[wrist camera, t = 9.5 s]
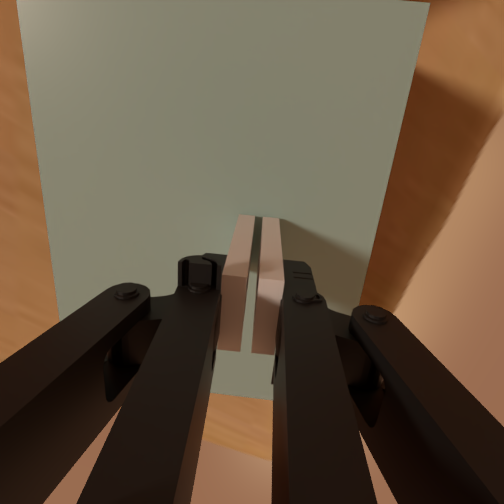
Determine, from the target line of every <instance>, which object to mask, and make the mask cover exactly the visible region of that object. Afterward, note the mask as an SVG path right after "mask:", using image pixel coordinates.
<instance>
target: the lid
mask: <svg viewBox="0 0 504 504" xmlns="http://www.w3.org/2000/svg"><path fill="white" fill-rule="evenodd" d="M16 1H17V9H18V16H19V23H20V31H21V38H22V46H23V53H24V60H25V68H26V75H27V83H28V90H29V97H30V105H31V112H32V120H33V127H34V134H35V142H36V149H37V157H38V164H39V171H40V179H41V186H42V194H43V201H44V208H45V216H46V223H47V231H48V238H49V245H50V253H51V260H52V268H53V275H54V282H55V290H56V297H57V304H58V312H59V319H60V321H62V320H63V319H64V318H66V317H67V316H69V315H70V314H72V313H73V312H74V311H76V310H77V309H79V308H80V307H82V306H83V305H84V304H86V303H87V302H89V301H90V300H92V299H93V298H95V297H96V296H97V295H99V294H100V293H102V292H103V291H105V290H106V289H108V288H110V287H112V286H114V285H118V284H121V283H126V282H127V283H128V282H132V283H138V284H142V285H144V286H146V287H148V288H149V289H150V297H157V296H166V295H171V294H174V293H175V291H176V288H177V286H178V261H179V260H180V259H181V258H184V257H187V256H192V255H203V254H205V253H214V254H224V255H228V251H229V248H230V244H231V241H232V237H233V234H234V230H235V227H236V223H237V220H238V216H239V214H242V215H252V216H255V222H254V232H253V243H252V253H251V264H250V273H249V282H248V290H247V298H246V307H245V315H244V324H243V332H242V341H241V349H240V352H236V351H226V350H216V362H215V367H214V373H213V378H212V384H211V390H210V393H217V394H225V395H233V396H241V397H249V398H257V399H265V400H273V384H271V380H272V373H273V366H274V358H275V354H274V355H266V354H256V353H251V349H252V336H253V322H254V309H255V295H256V281H257V268H258V259H259V249H260V240H261V230H262V220H263V217H272V218H279V224H280V235H281V246H282V258H283V259H284V260H294V261H304V262H305V263H306V264H307V265H309V266H310V267H311V270H312V275H313V278H314V282H315V285H316V289H317V293H319V294H321V295H322V296H323V297H324V298H325V300H326V303H327V307H328V308H329V309H331V310H333V311H336V312H339V313H342V314H346V315H349V316H351V314H352V311H353V308H355V307H357V306H359V302H360V298H361V294H362V290H363V285H364V281H365V277H366V273H367V269H368V264H369V260H370V256H371V252H372V247H373V243H374V239H375V235H376V231H377V226H378V222H379V218H380V214H381V209H382V205H383V201H384V197H385V193H386V188H387V184H388V180H389V176H390V171H391V167H392V163H393V159H394V155H395V150H396V146H397V142H398V138H399V133H400V129H401V125H402V121H403V117H404V112H405V108H406V104H407V100H408V95H409V91H410V87H411V83H412V79H413V74H414V70H415V66H416V62H417V57H418V53H419V49H420V45H421V41H422V36H423V32H424V28H425V24H426V19H427V15H428V11H429V7H430V3H426V2H415V1H403V0H16ZM217 344H218V343H217ZM275 351H276V347H275Z"/></svg>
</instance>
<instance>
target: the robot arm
mask: <svg viewBox="0 0 504 504" xmlns="http://www.w3.org/2000/svg"><path fill="white" fill-rule="evenodd" d="M254 222H255V216H252V215H242V214H239V216H238V220H237V223H236V227H235V230H234V234H233V237H232V241H231V244H230V248H229V251H228V255H224V254H214V253H205V254H203V255H192V256H187V257H184V258H181V259H180V260H179V261H178V286H177V288H176V291H175V293H174V294H171V295H166V296H157V297H150V289H149V288H148V287H146V286H144V285H142V284H138V283H132V282H128V283H127V282H126V283H121V284H118V285H114V286H112V287H110V288H108V289H106V290H105V291H103V292H102V293H100V294H99V295H97V296H96V297H95V298H93V299H92V300H90V301H89V302H87V303H86V304H84V305H83V306H82V307H80V308H79V309H77V310H76V311H74V312H73V313H72V314H70V315H69V316H67V317H66V318H64V319H63V320H62V321H60V322H59V323H57V324H56V325H54V326H53V327H52V328H50V329H49V330H47V331H46V332H44V333H43V334H41V335H40V336H39V337H37V338H36V339H34V340H33V341H31V342H30V343H29V344H27V345H26V346H24V347H23V348H21V349H20V350H19V351H17V352H16V353H14V354H13V355H11V356H10V357H8V358H7V359H6V360H4V361H3V362H1V363H0V504H43V503H44V502H45V500H46V499H47V498H48V496H49V495H50V494H51V493H52V492H53V490H54V489H55V488H56V487H57V485H58V484H59V483H60V482H61V480H62V479H63V478H64V477H65V475H66V474H67V473H68V472H69V471H70V469H71V468H72V467H73V466H74V464H75V463H76V462H77V461H78V459H79V458H80V457H81V455H82V454H83V453H84V452H85V451H86V449H87V448H88V447H89V446H90V444H91V443H92V442H93V441H94V439H95V438H96V437H97V436H98V434H99V433H100V432H101V431H102V430H103V428H104V427H105V426H106V424H107V423H108V422H109V421H110V420H111V418H112V417H113V416H114V415H115V413H116V412H117V411H118V410H119V408H120V407H121V406H122V407H121V409H120V411H119V413H118V415H117V418H116V420H115V422H114V424H113V426H112V428H111V431H110V433H109V435H108V437H107V439H106V441H105V443H104V446H103V448H102V450H101V452H100V454H99V456H98V458H97V461H96V463H95V465H94V467H93V469H92V471H91V474H90V476H89V478H88V480H87V482H86V484H85V487H84V489H83V491H82V493H81V495H80V497H79V499H78V501H77V504H190V502H191V496H192V490H193V485H194V480H195V474H196V468H197V463H198V457H199V451H200V446H201V440H202V435H203V429H204V423H205V418H206V412H207V407H208V401H209V395H210V390H211V384H212V378H213V373H214V367H215V362H216V350H226V351H236V352H240V349H241V341H242V332H243V324H244V315H245V307H246V298H247V290H248V282H249V273H250V264H251V253H252V243H253V232H254ZM217 343H218V344H217ZM275 347H276V351H275ZM251 353H256V354H266V355H274V354H275V358H274V366H273V373H272V380H271V384H273V440H272V504H377V500H376V496H375V492H374V488H373V484H372V480H371V476H370V472H369V468H368V464H367V461H366V457H365V453H364V449H363V445H362V441H361V437H360V433H361V435H362V437H363V439H364V441H365V443H366V445H367V446H368V448H369V450H370V452H371V454H372V456H373V458H374V460H375V462H376V463H377V465H378V467H379V469H380V471H381V473H382V475H383V477H384V479H385V480H386V482H387V484H388V486H389V488H390V490H391V492H392V493H393V496H394V497H395V499H396V501H397V503H398V504H504V427H503V426H502V425H501V424H500V423H499V422H498V421H497V420H496V419H495V418H494V417H493V415H491V413H489V411H488V410H487V409H486V408H485V407H484V406H483V405H482V404H481V403H480V402H479V401H478V400H477V399H476V398H475V397H474V396H473V395H472V394H471V393H470V392H469V391H468V390H467V389H466V388H465V387H464V386H463V385H462V384H461V383H460V382H459V381H458V380H457V379H456V378H455V377H454V376H453V375H452V374H451V372H449V371H448V370H447V368H445V366H444V365H443V364H442V363H441V362H440V361H439V360H438V359H437V358H436V357H435V356H434V355H433V354H432V353H431V352H430V351H429V350H428V349H427V348H426V347H425V346H424V345H423V344H422V343H421V342H420V341H419V340H418V339H417V338H416V337H415V336H414V335H413V334H412V333H411V332H410V331H409V329H407V327H405V326H404V325H403V323H402V322H400V320H399V319H398V318H397V317H396V316H394V315H393V314H392V313H391V312H389V311H387V310H385V309H383V308H381V307H376V306H374V305H371V306H370V305H361V306H357V307H355V308H353V311H352V314H351V316H349V315H346V314H342V313H339V312H336V311H333V310H331V309H329V308H328V307H327V303H326V300H325V298H324V297H323V296H322V295H321V294H319V293H317V289H316V285H315V282H314V278H313V275H312V270H311V267H310V266H309V265H307V264H306V263H305V262H304V261H294V260H284V259H283V258H282V246H281V235H280V224H279V218H272V217H263V220H262V230H261V240H260V249H259V259H258V268H257V281H256V295H255V309H254V322H253V336H252V349H251ZM383 380H384V381H383ZM359 431H360V433H359Z"/></svg>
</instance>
